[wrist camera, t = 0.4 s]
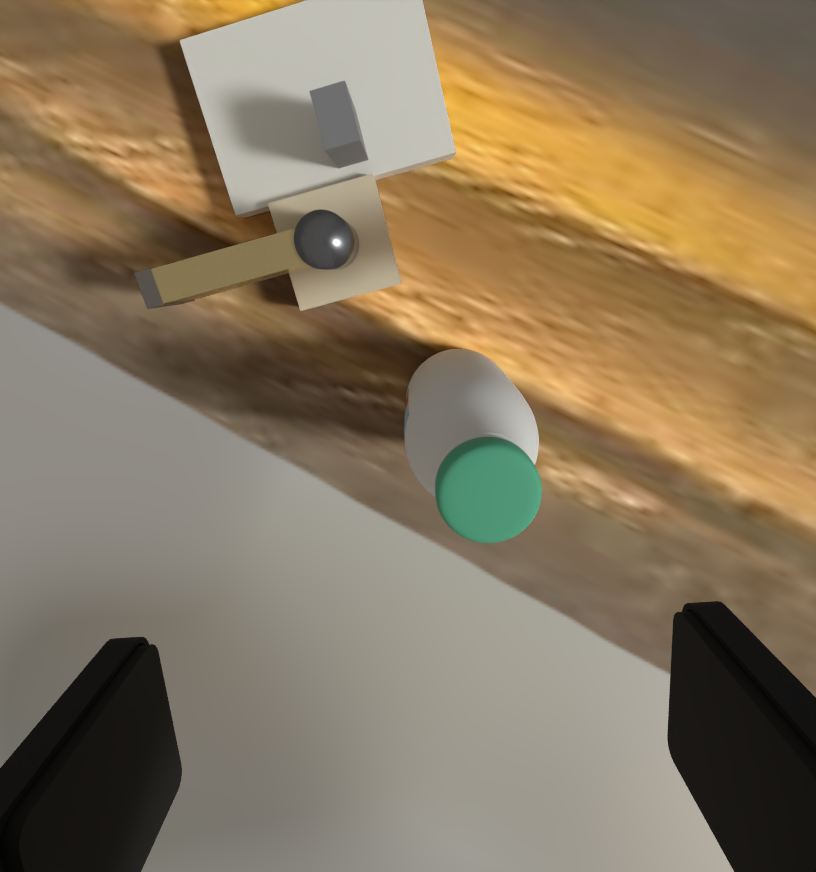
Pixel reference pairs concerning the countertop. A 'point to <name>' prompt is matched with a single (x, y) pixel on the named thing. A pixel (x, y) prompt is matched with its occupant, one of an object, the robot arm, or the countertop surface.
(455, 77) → the countertop surface
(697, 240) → the countertop surface
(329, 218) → the bar
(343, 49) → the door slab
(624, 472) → the countertop surface
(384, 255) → the jamb block
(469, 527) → the milk bottle
